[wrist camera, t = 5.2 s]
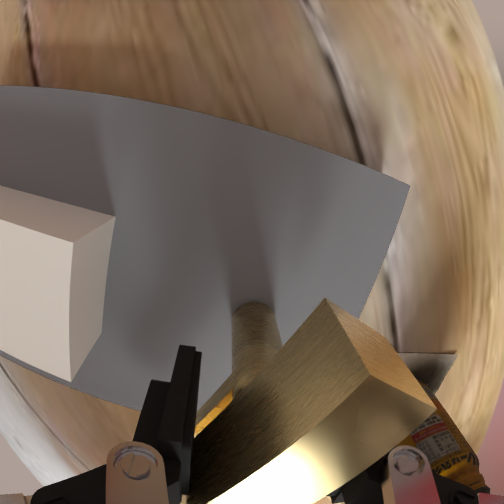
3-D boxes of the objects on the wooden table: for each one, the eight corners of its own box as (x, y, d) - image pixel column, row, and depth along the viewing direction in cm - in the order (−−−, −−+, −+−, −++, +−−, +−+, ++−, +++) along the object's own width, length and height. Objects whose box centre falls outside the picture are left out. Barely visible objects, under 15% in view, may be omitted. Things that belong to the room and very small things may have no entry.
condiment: (341, 433, 22) (383, 557, 10) (383, 351, 19) (471, 489, 8) (410, 427, 22) (463, 526, 11) (455, 352, 20) (541, 452, 9)
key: (329, 266, 14) (436, 408, 5) (186, 429, 16) (172, 561, 8) (286, 235, 13) (370, 374, 5) (150, 412, 16) (119, 545, 7)
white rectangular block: (101, 332, 14) (71, 382, 10) (-34, 276, 13) (-75, 303, 9) (115, 216, 12) (73, 242, 9) (-33, 176, 11) (-84, 188, 7)
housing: (286, 407, 20) (292, 438, 17) (-11, 317, 17) (-33, 336, 14) (382, 179, 16) (410, 185, 13) (4, 90, 12) (-27, 85, 10)
